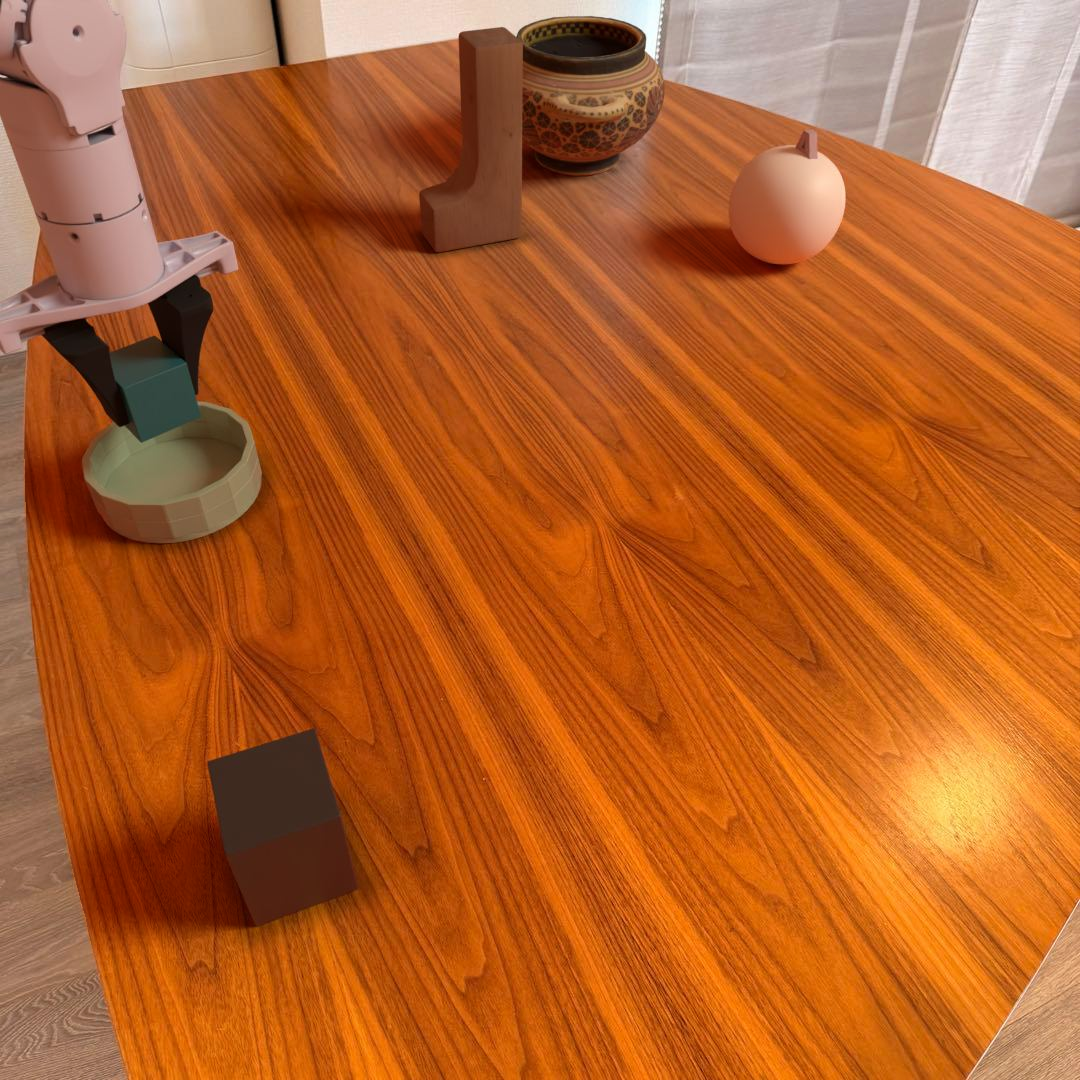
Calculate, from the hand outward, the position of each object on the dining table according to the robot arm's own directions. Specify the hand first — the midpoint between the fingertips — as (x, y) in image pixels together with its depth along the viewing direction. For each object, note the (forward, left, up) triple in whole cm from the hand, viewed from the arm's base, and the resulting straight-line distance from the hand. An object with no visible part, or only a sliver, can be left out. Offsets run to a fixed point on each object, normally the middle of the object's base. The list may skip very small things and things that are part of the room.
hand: (153, 403), depth 63 cm
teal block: (0, 0, -1) cm, 1 cm away
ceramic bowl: (+48, +41, -8) cm, 64 cm away
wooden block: (+31, +28, -8) cm, 43 cm away
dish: (0, 0, -7) cm, 7 cm away
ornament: (+57, +14, -8) cm, 60 cm away
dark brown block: (+1, -31, -7) cm, 31 cm away
